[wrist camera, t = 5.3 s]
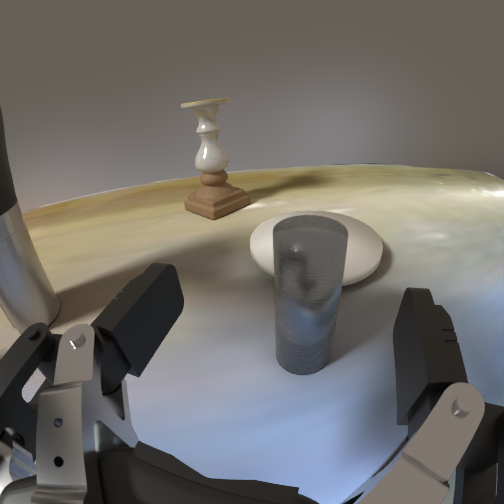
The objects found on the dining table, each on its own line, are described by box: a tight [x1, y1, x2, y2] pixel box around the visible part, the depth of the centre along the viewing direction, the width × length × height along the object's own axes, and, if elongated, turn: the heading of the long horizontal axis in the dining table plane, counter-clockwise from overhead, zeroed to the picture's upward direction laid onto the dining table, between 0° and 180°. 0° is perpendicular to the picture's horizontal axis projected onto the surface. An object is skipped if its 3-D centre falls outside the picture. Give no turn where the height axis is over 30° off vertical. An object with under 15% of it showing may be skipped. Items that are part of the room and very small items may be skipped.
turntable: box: [250, 211, 383, 286], centre depth 42 cm, size 20×20×2 cm
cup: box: [273, 215, 348, 375], centre depth 24 cm, size 6×6×14 cm
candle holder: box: [181, 98, 250, 220], centre depth 57 cm, size 11×11×24 cm
